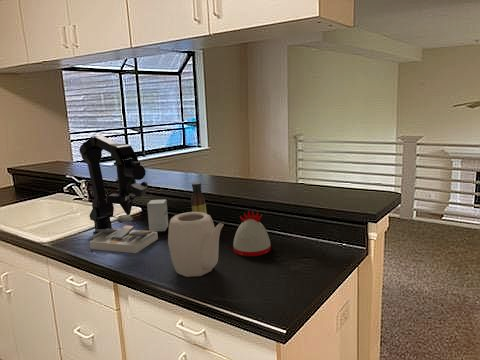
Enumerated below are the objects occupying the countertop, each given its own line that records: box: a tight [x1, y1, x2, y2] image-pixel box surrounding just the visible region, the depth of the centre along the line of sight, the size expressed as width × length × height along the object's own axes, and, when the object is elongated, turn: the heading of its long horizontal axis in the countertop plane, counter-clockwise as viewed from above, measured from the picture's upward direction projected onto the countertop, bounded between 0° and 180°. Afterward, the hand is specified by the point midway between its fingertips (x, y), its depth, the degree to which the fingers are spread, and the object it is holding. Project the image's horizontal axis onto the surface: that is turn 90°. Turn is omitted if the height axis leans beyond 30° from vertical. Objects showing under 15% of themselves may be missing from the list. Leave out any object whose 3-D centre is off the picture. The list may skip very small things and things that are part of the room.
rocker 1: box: [96, 228, 117, 234], centre depth 165 cm, size 4×9×2 cm, turn 160°
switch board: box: [89, 228, 159, 254], centre depth 163 cm, size 23×16×4 cm
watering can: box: [167, 211, 224, 278], centre depth 131 cm, size 16×27×19 cm, turn 47°
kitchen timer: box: [232, 210, 272, 257], centre depth 150 cm, size 14×14×15 cm
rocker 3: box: [129, 230, 153, 237], centre depth 159 cm, size 4×9×2 cm, turn 161°
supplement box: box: [146, 199, 169, 232], centre depth 179 cm, size 7×7×13 cm
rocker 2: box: [112, 224, 135, 239], centre depth 162 cm, size 4×9×2 cm, turn 160°
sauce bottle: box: [190, 181, 208, 214], centre depth 179 cm, size 6×6×20 cm
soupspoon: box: [117, 214, 134, 223], centre depth 201 cm, size 22×3×7 cm
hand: (128, 214), depth 163 cm, fingers closed
